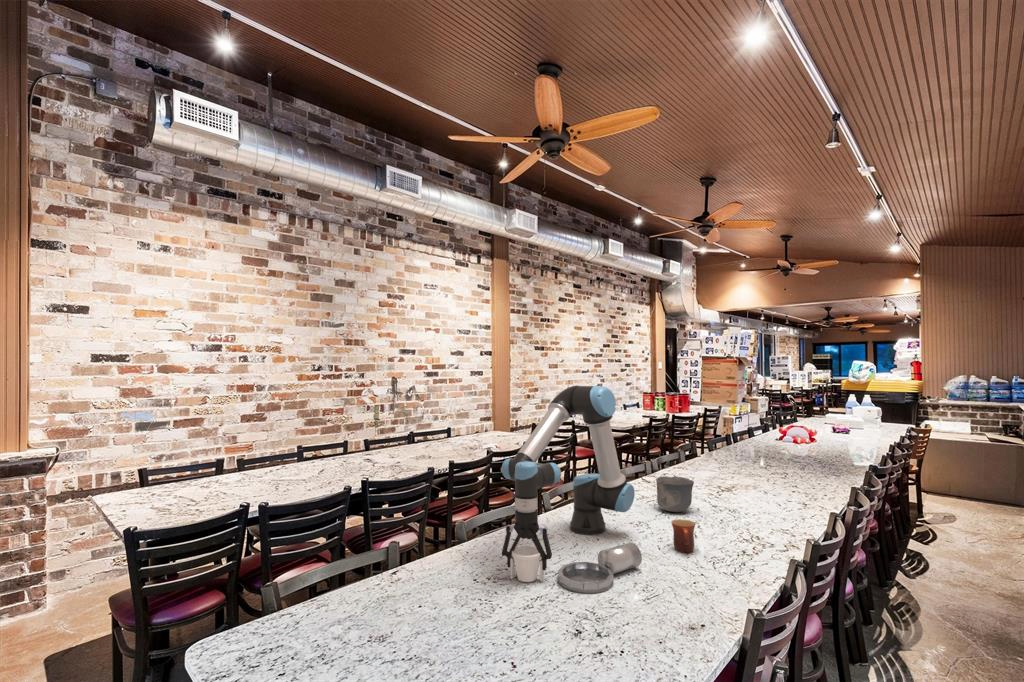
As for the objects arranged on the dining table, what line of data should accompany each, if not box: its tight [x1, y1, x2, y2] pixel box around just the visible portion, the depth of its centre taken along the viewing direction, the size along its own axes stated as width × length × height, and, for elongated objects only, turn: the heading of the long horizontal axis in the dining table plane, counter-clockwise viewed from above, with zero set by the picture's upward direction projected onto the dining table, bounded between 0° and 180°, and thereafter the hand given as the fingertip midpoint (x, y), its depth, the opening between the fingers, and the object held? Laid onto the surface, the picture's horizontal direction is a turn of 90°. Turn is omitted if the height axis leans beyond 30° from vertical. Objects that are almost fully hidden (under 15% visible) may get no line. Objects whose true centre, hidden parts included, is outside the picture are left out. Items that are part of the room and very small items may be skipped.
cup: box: [512, 544, 541, 584], centre depth 166 cm, size 10×10×9 cm
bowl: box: [655, 475, 695, 513], centre depth 240 cm, size 18×18×15 cm
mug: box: [671, 518, 696, 554], centre depth 189 cm, size 12×9×10 cm
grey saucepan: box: [557, 542, 643, 595], centre depth 167 cm, size 31×18×8 cm, turn 123°
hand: (527, 578), depth 166 cm, fingers closed on cup, 9 cm apart
